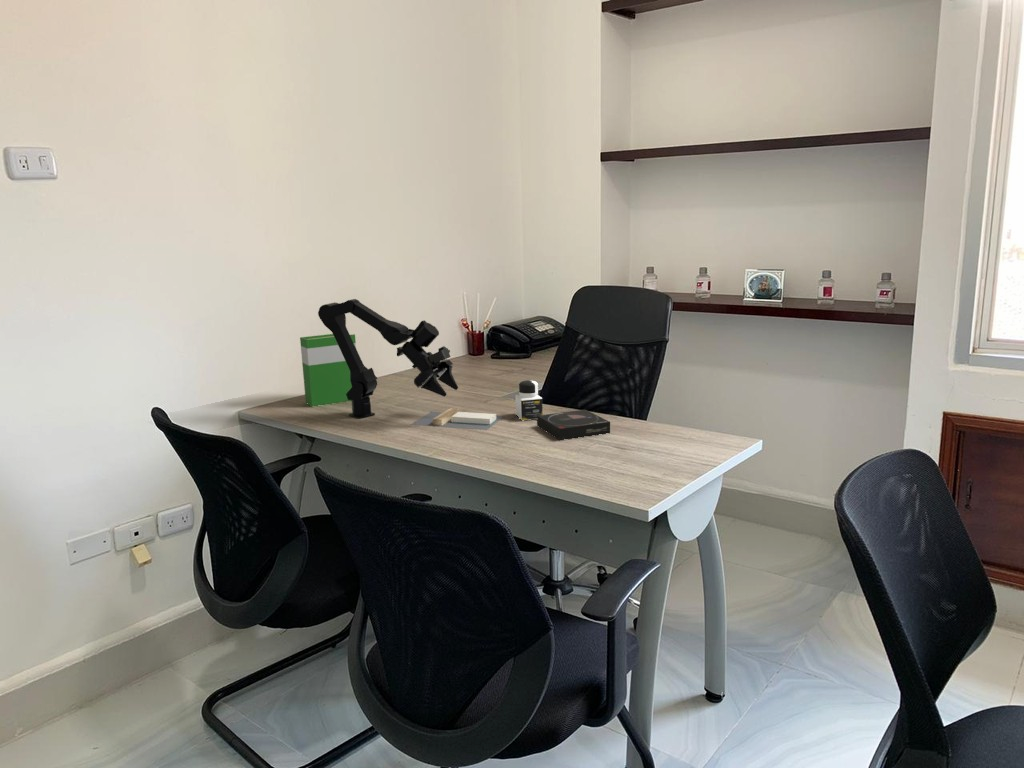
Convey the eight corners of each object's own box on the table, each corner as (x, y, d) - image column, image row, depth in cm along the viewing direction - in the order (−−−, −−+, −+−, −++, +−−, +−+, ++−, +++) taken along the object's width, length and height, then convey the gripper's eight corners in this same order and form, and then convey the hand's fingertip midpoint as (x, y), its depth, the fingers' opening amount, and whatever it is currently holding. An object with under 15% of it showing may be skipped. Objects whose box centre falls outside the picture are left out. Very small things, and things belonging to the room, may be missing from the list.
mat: (410, 425, 243) (410, 424, 243) (431, 413, 258) (431, 411, 258) (486, 431, 234) (486, 429, 234) (504, 417, 249) (504, 416, 249)
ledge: (433, 425, 241) (432, 419, 241) (450, 413, 254) (450, 408, 254) (441, 425, 240) (441, 419, 240) (459, 414, 253) (458, 408, 253)
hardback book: (352, 396, 286) (347, 332, 280) (359, 399, 279) (355, 334, 274) (305, 403, 277) (300, 337, 271) (312, 407, 270) (306, 340, 265)
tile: (451, 416, 243) (489, 418, 239) (458, 411, 249) (496, 414, 245) (451, 422, 244) (489, 425, 239) (458, 417, 249) (496, 420, 245)
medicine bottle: (521, 421, 245) (520, 384, 242) (515, 415, 251) (514, 380, 249) (543, 419, 247) (542, 382, 244) (536, 413, 253) (535, 378, 251)
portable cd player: (584, 421, 245) (584, 409, 244) (610, 434, 229) (610, 421, 228) (537, 427, 239) (536, 415, 238) (560, 442, 223) (559, 428, 222)
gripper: (421, 344, 234) (455, 382, 233) (446, 335, 251) (478, 369, 250) (399, 368, 238) (433, 405, 237) (425, 357, 255) (457, 391, 254)
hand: (451, 392), depth 244 cm, fingers open, 9 cm apart
